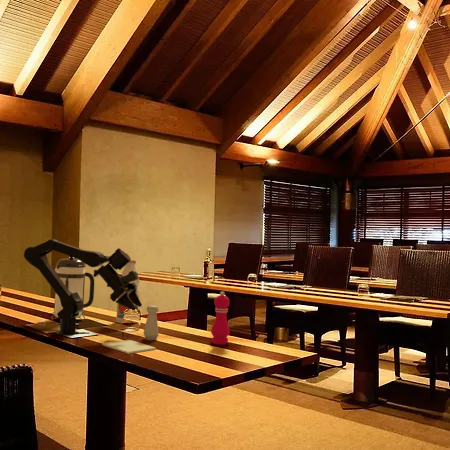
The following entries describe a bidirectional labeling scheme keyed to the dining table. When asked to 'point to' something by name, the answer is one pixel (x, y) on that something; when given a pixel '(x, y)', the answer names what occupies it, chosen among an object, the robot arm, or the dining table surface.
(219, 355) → the dining table surface
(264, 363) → the dining table surface
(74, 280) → the coffee press
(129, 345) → the sage mat
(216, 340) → the pepper mill
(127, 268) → the fruit juice
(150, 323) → the salt shaker
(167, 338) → the dining table surface
